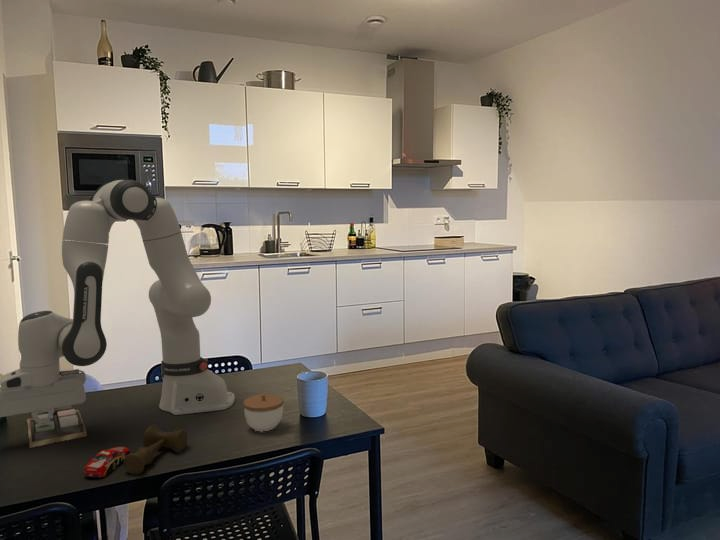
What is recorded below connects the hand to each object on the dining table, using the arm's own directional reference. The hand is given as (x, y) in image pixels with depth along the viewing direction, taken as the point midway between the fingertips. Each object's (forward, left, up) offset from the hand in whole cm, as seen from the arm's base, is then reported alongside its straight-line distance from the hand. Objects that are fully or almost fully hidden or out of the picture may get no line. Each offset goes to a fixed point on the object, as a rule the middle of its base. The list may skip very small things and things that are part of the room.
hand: (43, 425), depth 141 cm
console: (0, -7, -4) cm, 8 cm away
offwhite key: (-5, -3, -2) cm, 6 cm away
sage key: (0, 0, -2) cm, 2 cm away
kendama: (-32, +14, -4) cm, 35 cm away
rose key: (-3, -8, -1) cm, 8 cm away
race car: (-22, +18, -4) cm, 29 cm away
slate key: (+2, -5, -1) cm, 6 cm away
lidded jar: (-57, 0, -4) cm, 57 cm away
